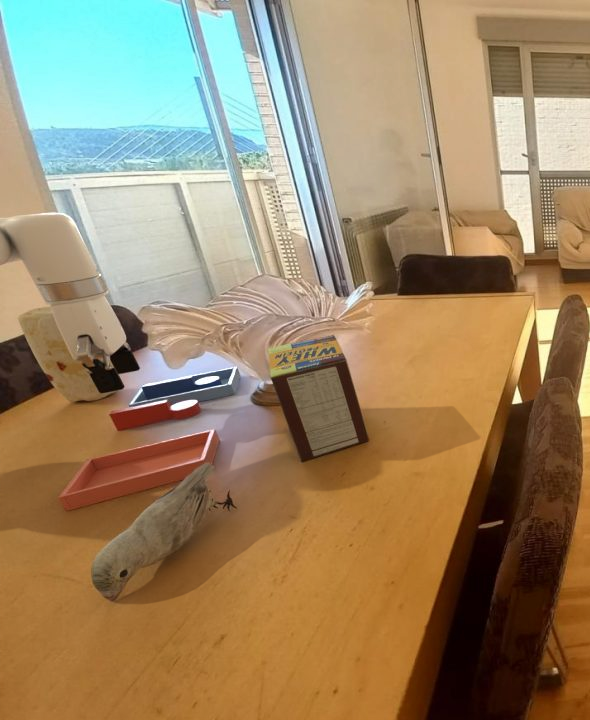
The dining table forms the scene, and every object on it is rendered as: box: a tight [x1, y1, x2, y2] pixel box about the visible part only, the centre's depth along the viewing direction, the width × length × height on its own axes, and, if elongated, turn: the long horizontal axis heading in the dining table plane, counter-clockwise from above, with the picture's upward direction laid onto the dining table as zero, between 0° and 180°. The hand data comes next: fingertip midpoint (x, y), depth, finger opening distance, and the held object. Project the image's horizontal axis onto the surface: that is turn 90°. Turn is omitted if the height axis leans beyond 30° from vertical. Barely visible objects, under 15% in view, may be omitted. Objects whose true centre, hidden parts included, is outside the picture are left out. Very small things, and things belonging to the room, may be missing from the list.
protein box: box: [267, 334, 370, 462], centre depth 82 cm, size 10×15×16 cm
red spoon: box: [109, 400, 202, 431], centre depth 91 cm, size 12×4×4 cm, turn 122°
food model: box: [17, 306, 119, 402], centre depth 98 cm, size 10×7×20 cm
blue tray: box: [128, 366, 242, 408], centre depth 101 cm, size 16×11×2 cm
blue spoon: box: [140, 374, 222, 400], centre depth 100 cm, size 12×4×4 cm, turn 122°
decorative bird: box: [90, 463, 238, 602], centre depth 58 cm, size 5×16×7 cm, turn 178°
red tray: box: [57, 428, 221, 512], centre depth 75 cm, size 16×11×2 cm
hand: (121, 380), depth 87 cm, fingers open, 9 cm apart
